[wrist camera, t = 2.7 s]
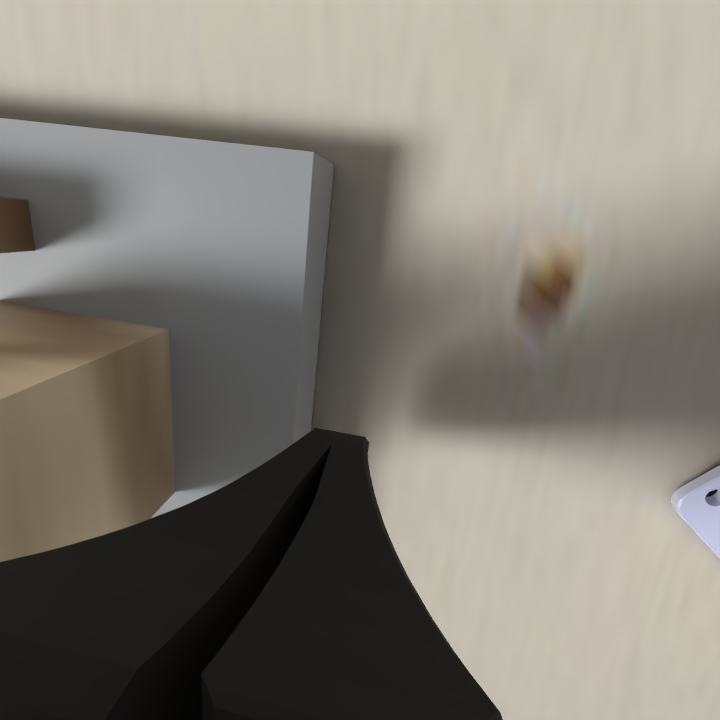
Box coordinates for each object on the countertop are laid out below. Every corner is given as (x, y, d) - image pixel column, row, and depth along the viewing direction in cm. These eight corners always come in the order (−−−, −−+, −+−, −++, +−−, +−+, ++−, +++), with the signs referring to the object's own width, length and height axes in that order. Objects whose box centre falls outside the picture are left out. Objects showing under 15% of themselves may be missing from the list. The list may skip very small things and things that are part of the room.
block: (169, 329, 11) (-40, 415, 6) (175, 491, 12) (17, 658, 8) (-5, 300, 11) (-321, 358, 6) (24, 459, 13) (-209, 597, 8)
